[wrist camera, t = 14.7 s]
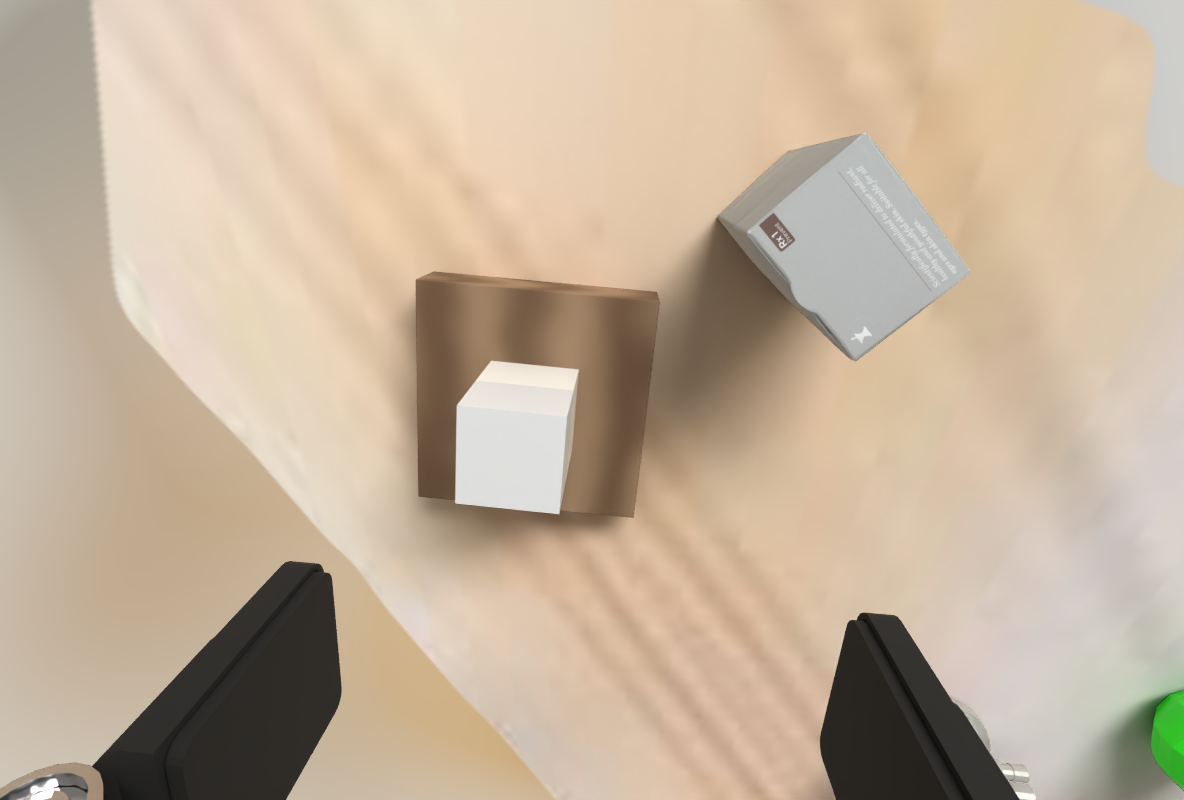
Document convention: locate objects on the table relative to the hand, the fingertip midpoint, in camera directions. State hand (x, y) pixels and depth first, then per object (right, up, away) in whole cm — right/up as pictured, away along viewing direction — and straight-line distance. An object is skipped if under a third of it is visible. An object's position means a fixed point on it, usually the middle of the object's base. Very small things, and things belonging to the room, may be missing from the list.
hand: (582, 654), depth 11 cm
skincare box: (+13, +16, +31) cm, 37 cm away
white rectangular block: (-4, +4, +31) cm, 32 cm away
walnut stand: (-4, +5, +35) cm, 36 cm away
